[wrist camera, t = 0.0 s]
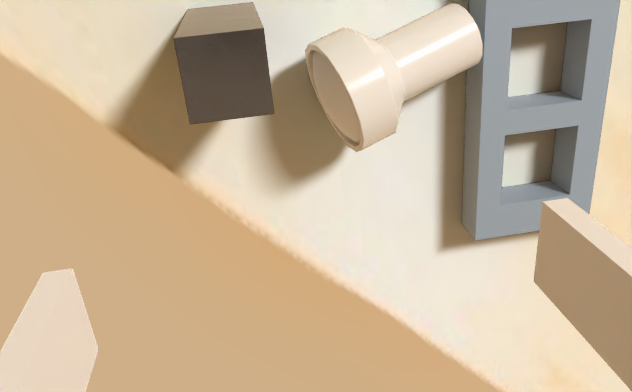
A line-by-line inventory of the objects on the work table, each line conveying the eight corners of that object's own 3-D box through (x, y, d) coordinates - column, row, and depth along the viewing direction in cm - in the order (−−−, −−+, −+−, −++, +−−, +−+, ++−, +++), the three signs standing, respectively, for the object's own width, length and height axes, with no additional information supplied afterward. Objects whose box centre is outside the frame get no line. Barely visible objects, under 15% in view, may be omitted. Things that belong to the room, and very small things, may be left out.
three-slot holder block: (473, -146, 37) (493, -152, 34) (614, -158, 38) (644, -165, 35) (461, 223, 49) (475, 240, 46) (568, 207, 50) (588, 223, 47)
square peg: (187, 9, 38) (173, 38, 28) (252, 2, 39) (263, 28, 28) (199, 73, 40) (190, 124, 30) (261, 66, 41) (274, 113, 30)
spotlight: (286, 33, 39) (335, 69, 32) (424, -32, 40) (495, -10, 34) (319, 128, 44) (367, 175, 37) (441, 66, 45) (506, 101, 39)
